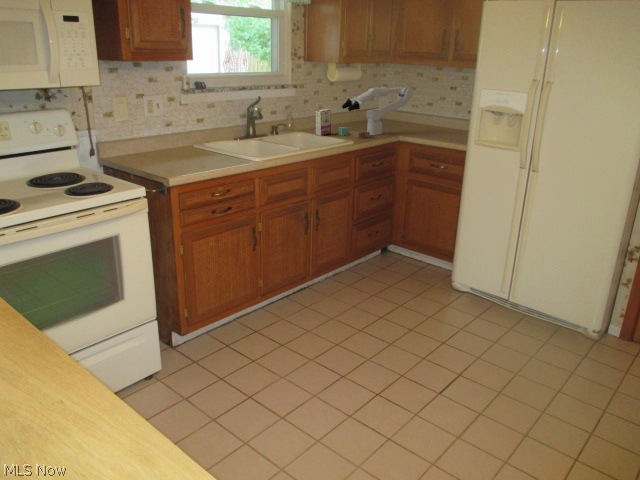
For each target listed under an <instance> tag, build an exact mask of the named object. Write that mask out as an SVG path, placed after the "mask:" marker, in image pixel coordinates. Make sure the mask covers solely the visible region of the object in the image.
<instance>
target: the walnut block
mask: <svg viewBox="0 0 640 480" xmlns="http://www.w3.org/2000/svg"><path fill="white" fill-rule="evenodd" d="M370 136H371V135H370V132H368V131H366V130H362V129H361V130H360V129H357V130H351V131H350V135H349V137H350V138H352V139H353V138H354V139H357V140H359V139H369V138H370Z"/></svg>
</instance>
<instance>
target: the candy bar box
mask: <svg viewBox="0 0 640 480" xmlns="http://www.w3.org/2000/svg"><path fill="white" fill-rule="evenodd" d="M316 134H317V135H325V136H327V135H326V134H329V135H331V134H332V109H331V108H324V109H318V110H315V135H316Z"/></svg>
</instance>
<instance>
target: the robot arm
mask: <svg viewBox="0 0 640 480" xmlns="http://www.w3.org/2000/svg"><path fill="white" fill-rule="evenodd" d="M389 94H397V100H395V101H392V102H391V103H387V104H385V105H384V106H383V105H382V106H381V107H379V108H375V109H368V110H367V111H366V113H365V117H366V119H367V125H366V126H367V127H366V128H367V129H366V130H367V131H368V132H370V136H377V135H383V133H382V132H383V123H382V121H381V120H380V119H381V118H383V116H385V115H386V114H389V113H391V112H394V111H396V110H398V109H400V108H402V107H404V106H406V105H407V103H408V102H409V101H410V100H411V99H413V97H414V89H413V88H411V87H404V86H403V87H401V86H396V87H391V88H388V87H387V86H384V85H382V86H381V87H378V86H377V87H371V88H368V90H367V91H365V92H364V93H362V94H360V95H358V96H353V98H347V100H346V101H345V102H344V103H343V104H342V105H341V108H342V109H345V110H346V109H347V111H348V112H352V111H356V110H358V111H359V110H360V108H362V107H363V106H364V104H366V103H367V102H369V101H370V100H372V99H374V98H376V99H377V98H379V97H387V96H388V95H389Z"/></svg>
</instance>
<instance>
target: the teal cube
mask: <svg viewBox="0 0 640 480" xmlns="http://www.w3.org/2000/svg"><path fill="white" fill-rule="evenodd" d="M337 135H338V136H340V135H342V136H341V137H344V136H343V135H346V136H349V127H346V126H340V127H337Z"/></svg>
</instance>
